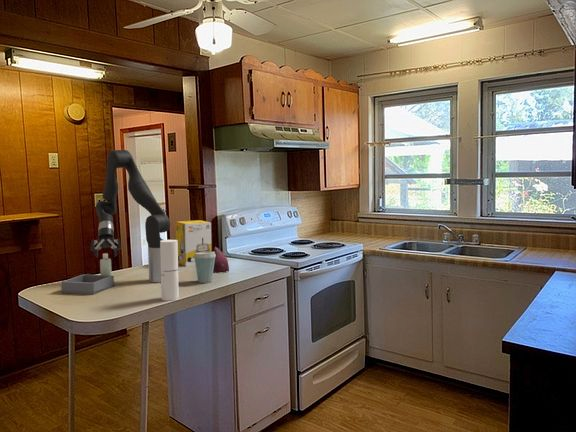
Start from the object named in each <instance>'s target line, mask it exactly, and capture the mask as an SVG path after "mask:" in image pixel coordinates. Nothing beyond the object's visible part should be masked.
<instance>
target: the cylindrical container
mask: <svg viewBox="0 0 576 432" xmlns="http://www.w3.org/2000/svg"><path fill="white" fill-rule="evenodd" d="M160 255H161V282H160V284H161V285H160V286H161V287H160V288H161V289H160V290H161V301H167V302H169V301H176V300H178V299H179V297H180V296H179V294H180V293H179V292H180V291H179V263H178V241H177V240H176V239H163V240H162V241H160Z"/></svg>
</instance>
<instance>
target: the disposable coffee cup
mask: <svg viewBox="0 0 576 432" xmlns="http://www.w3.org/2000/svg"><path fill="white" fill-rule="evenodd" d="M194 257H195V264H196V266H195V269H196V277H197V281H198V283H200V284H208V283H211V282H212V280H213V275H214V272H213V269H214V262H215V257H216V254H215V252H214V251H211V252H200V253H196V254H195V255H194Z"/></svg>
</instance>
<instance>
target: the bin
mask: <svg viewBox="0 0 576 432" xmlns="http://www.w3.org/2000/svg"><path fill="white" fill-rule="evenodd" d="M60 283H61V285H60V286H61V294H75V295H76V294H78V295H79V294H80V295H96V294H99V293H101V292H103V291H105V290H108V289H110V288H112V287H114V286H115V278H114V275H112V274H111V275H101V274H85V273H84V274H80V275H77V276H75V277H72V278H69V279H66V280H64V281H61V282H60Z"/></svg>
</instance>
